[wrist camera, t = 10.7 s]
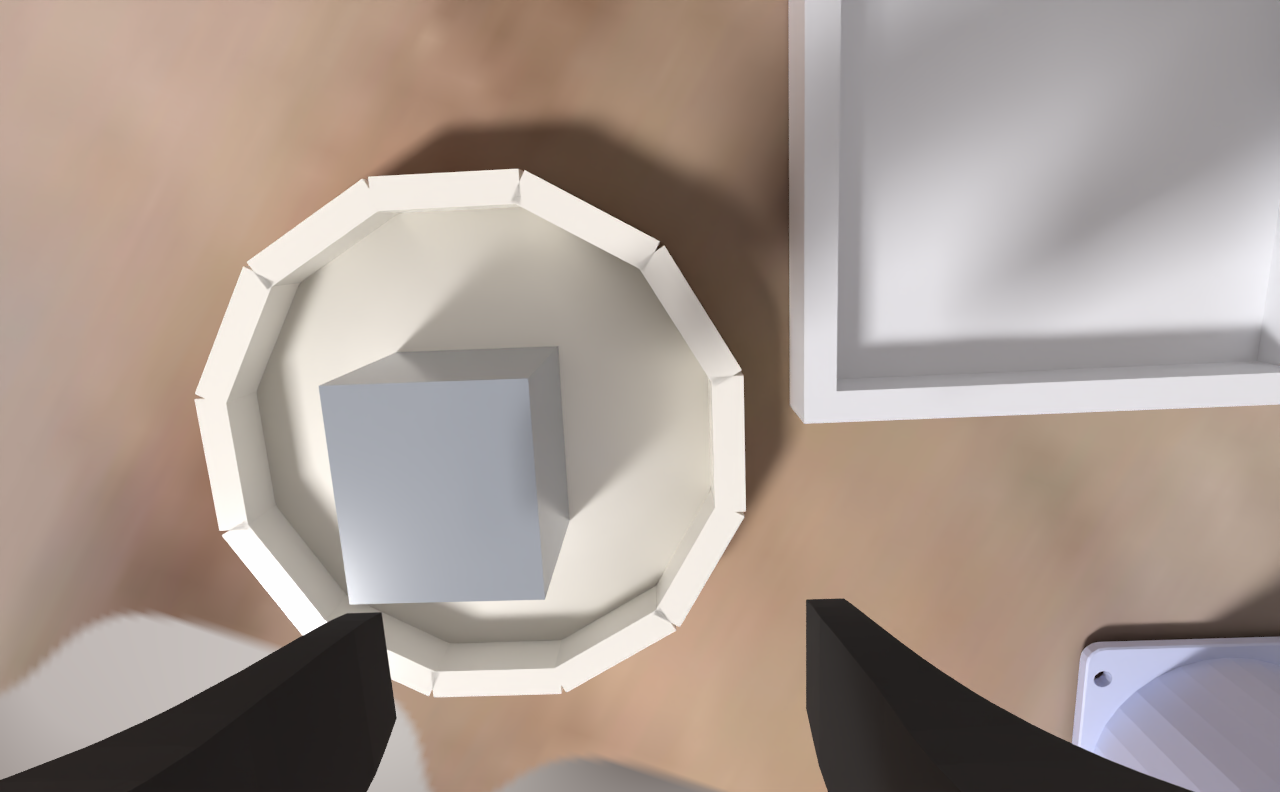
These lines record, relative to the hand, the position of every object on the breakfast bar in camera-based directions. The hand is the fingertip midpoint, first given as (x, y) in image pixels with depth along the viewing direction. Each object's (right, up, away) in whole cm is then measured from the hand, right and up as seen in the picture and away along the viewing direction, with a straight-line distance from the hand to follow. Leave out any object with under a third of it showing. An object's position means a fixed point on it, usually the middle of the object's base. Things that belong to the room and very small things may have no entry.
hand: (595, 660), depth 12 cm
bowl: (-4, +3, +8) cm, 10 cm away
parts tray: (+11, +11, +6) cm, 17 cm away
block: (-4, +3, +8) cm, 9 cm away
